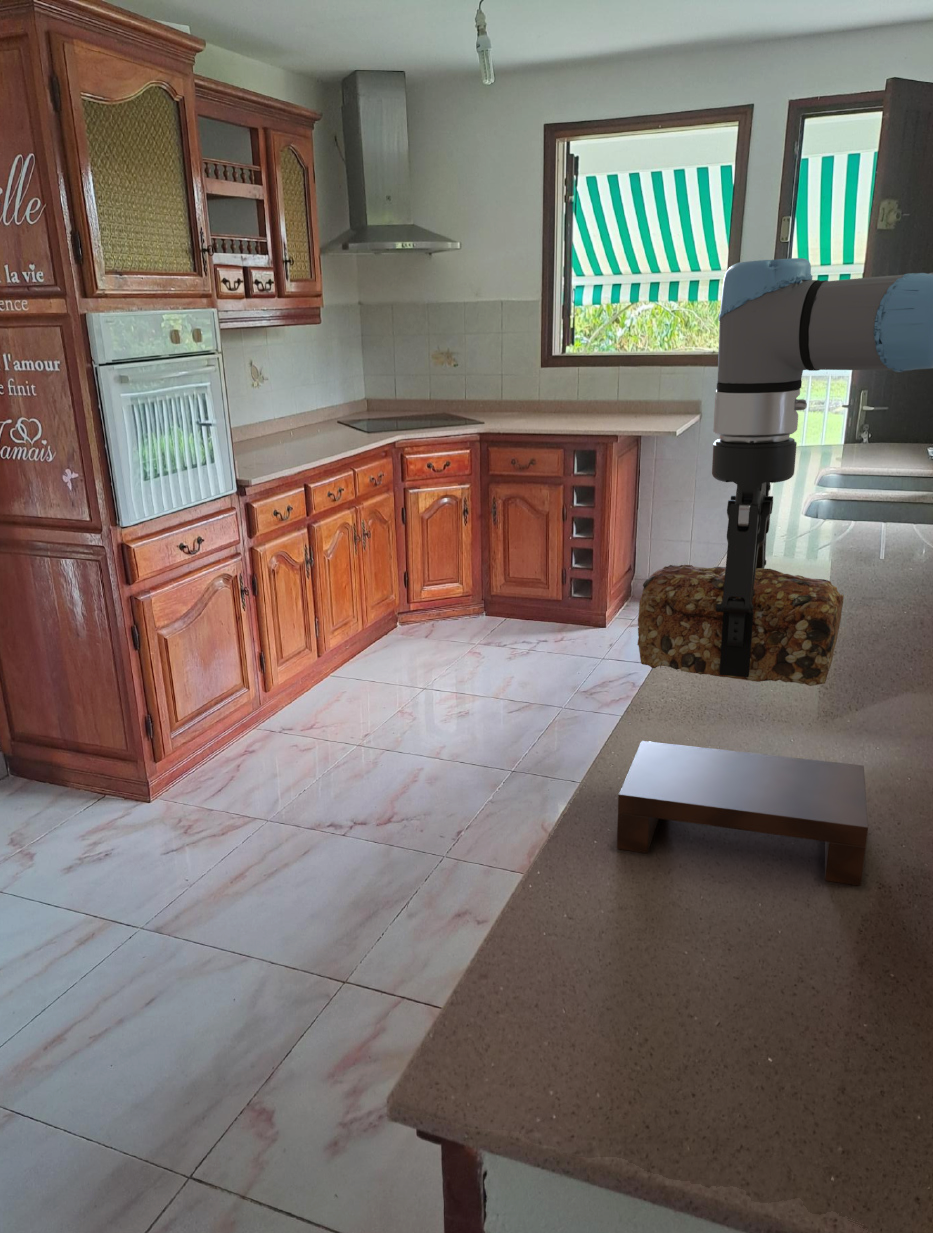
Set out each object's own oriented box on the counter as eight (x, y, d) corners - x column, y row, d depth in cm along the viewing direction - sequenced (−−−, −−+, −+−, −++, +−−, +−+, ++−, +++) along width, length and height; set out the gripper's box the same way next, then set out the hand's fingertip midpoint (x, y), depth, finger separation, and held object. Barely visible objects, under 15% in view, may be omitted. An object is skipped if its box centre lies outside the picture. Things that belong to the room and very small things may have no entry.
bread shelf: (857, 818, 98) (863, 765, 96) (860, 886, 87) (868, 827, 84) (639, 790, 106) (641, 740, 104) (616, 848, 94) (618, 794, 92)
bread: (633, 670, 99) (636, 576, 95) (660, 640, 108) (663, 552, 104) (828, 693, 90) (838, 590, 87) (839, 658, 99) (849, 563, 96)
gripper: (789, 454, 80) (770, 700, 87) (803, 422, 99) (786, 625, 107) (696, 454, 82) (685, 692, 90) (727, 423, 102) (716, 620, 110)
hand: (740, 656), depth 99 cm, fingers closed on bread, 11 cm apart
